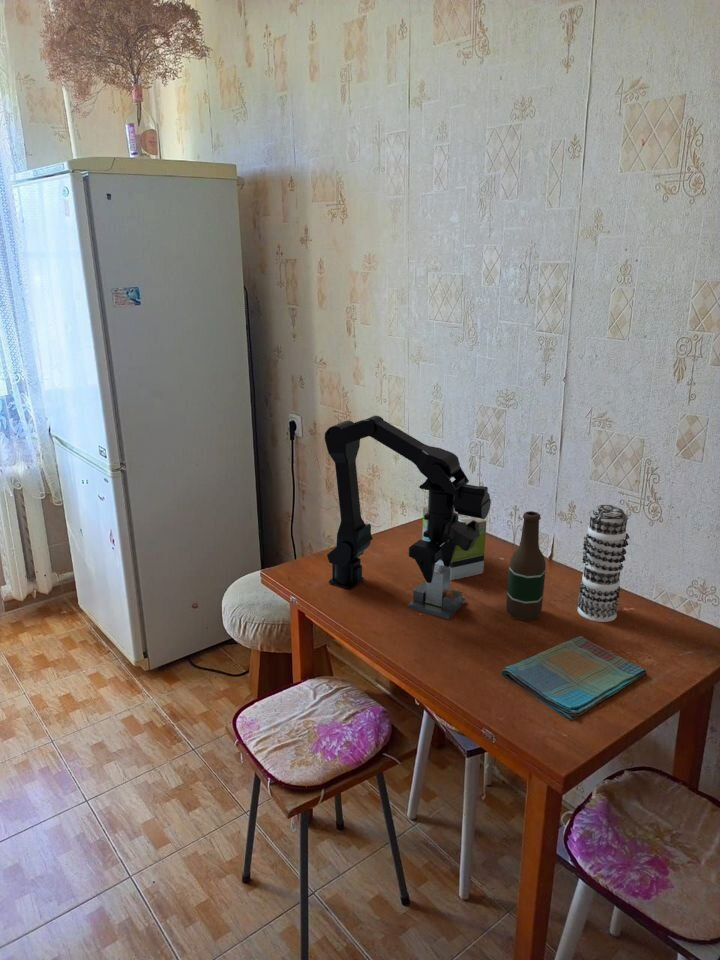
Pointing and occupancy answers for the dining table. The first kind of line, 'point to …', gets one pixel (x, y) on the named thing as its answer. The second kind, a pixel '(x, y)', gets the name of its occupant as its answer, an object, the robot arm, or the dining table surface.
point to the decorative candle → (603, 563)
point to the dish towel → (573, 676)
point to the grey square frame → (449, 607)
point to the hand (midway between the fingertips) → (437, 574)
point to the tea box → (465, 560)
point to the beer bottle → (526, 573)
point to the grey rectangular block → (438, 586)
